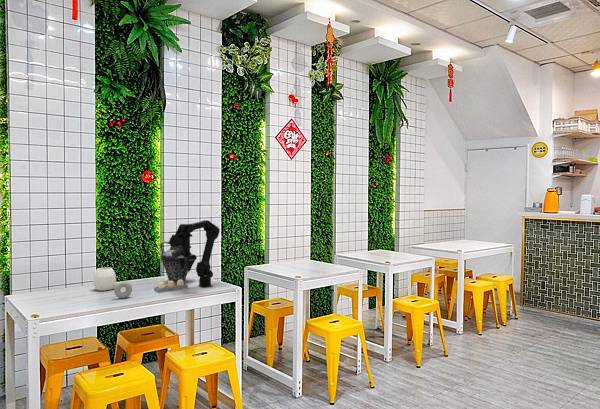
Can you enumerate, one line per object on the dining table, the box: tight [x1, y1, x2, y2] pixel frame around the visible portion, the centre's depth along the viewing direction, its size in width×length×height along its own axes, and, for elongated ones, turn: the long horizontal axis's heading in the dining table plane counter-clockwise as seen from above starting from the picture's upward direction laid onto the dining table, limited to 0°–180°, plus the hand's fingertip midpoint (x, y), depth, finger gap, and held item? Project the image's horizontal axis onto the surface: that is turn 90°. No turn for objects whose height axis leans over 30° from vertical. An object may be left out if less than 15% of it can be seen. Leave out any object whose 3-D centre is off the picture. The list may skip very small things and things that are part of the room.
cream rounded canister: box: [92, 266, 117, 292], centre depth 305 cm, size 13×13×14 cm
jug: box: [159, 240, 189, 284], centre depth 325 cm, size 21×19×30 cm
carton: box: [153, 279, 189, 293], centre depth 303 cm, size 19×7×6 cm, turn 128°
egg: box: [167, 280, 175, 287], centre depth 303 cm, size 4×4×5 cm
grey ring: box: [113, 280, 133, 299], centre depth 280 cm, size 10×4×10 cm, turn 121°
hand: (185, 270), depth 297 cm, fingers open, 9 cm apart
